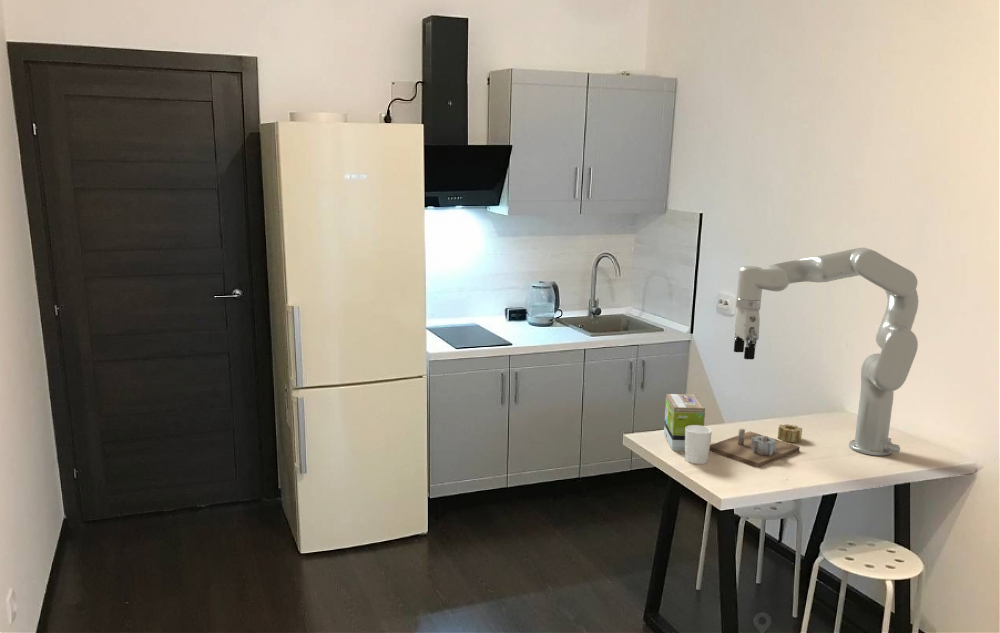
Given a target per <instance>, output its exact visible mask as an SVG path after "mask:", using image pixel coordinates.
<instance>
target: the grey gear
mask: <svg viewBox="0 0 1000 633" xmlns="http://www.w3.org/2000/svg"><path fill="white" fill-rule="evenodd" d="M766 436H767V441H761V436H758V435H757V436H756V437H752V440H751V450H752V452H753V453H757V454H760V455H762V456H763V455H768V456H772V455H773V454H776V445H777V441H775V439H776V438H774V437H769V436H768V435H766Z"/></svg>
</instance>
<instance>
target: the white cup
mask: <svg viewBox="0 0 1000 633" xmlns="http://www.w3.org/2000/svg"><path fill="white" fill-rule="evenodd" d="M712 432H713V431H712V429H711V428H710V427H708V426H706V425H704V426H700V425H689V426H686V427H685V451H684V458H685V459H684V460H685V461H686V462H688V463H691V464H695V465H703V464H706V463H708V462H709V461H708V459H709V453H710V451H709V449H710V445H711V441H712V440H711V439H712Z"/></svg>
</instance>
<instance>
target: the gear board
mask: <svg viewBox="0 0 1000 633" xmlns="http://www.w3.org/2000/svg"><path fill="white" fill-rule="evenodd" d="M757 435H758V436H761V441H767V436H768V435H763V434H760V433H756V432H753V431H747V432H746V429H744V428H739V429H738V435H735V436H732V437H730V438H726V439H724V440H721V441H717V442H715V443H712V444H710V449H709V452H710V453H714V454H717V455H719V456H722V457H725V458H728V459H731V460H734V461H737V462H739V463H742V464H746V465H748V466H750V467H754V468H757V469H759V468H760V467H764V466H766V465H768V464H771V463H774V462H776V461H778V459H779V460H781V459H783V458H785V457H788V456H791V455H794V454H795V453H798V452H800V446H798V445H795V444H794V443H790V442H786V441H785V442H784V441H782V440H781V439H777V438H774V439H775V441H777V445H776V454H773V455H772V456H768V455H763V456H762V455H760V454H757V453H753V452H752V450H751V440H752V437H756V436H757Z"/></svg>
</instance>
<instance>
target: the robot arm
mask: <svg viewBox="0 0 1000 633" xmlns="http://www.w3.org/2000/svg"><path fill="white" fill-rule="evenodd" d="M857 276H859V277H861V278H863V279H865V280H867V281H868V282H871V283H872V284H874V285H876V286H877V287H880V288H881V289H882V290H884V292H885V293H886V296H887V303H886V304H887V305H886V308H885V312H884V314H883V316H882V317H883V318H882V319H881V322H880V325H879V327H878V329H877V333H876V335H875V336H876V337H875V342H876V344H877V346H878V347H879V348H880V349H881V352H880V353H873V354H870V355H868V356H867V357H865V359H864V360H863V362H862V365H861V370H860V392H859V393H860V395H859V403H858V411H857V419H856V426H855V427H856V428H855V435H854V436H855V437H854V439H852V440H849V442H848V447H849V448H851V449H852V450H853V451H855V452H857V453H860V454H865V455H869V456H870V455H871V456H877V457H880V456H882V457H884V456H889V455H891V454H892V452H894V453H899V454H900V452H901V447H900V445H899V444H895V443H893V442H892V438H891V437H889V435H890V434H889V432H890V426H891V418H892V410H893V404H894V393H895V392H894V391H897V390H899V389H900V388H901V387H903V385H904V384H905V382H906V380H907V378H908V376H909V373H910V370H911V368H912V365H913V362H914V360H915V359H916V358H915V357H916V355H917V351H918V346H919V342H918V338H917V336H916V334H915V332H913V331H912V328H913V326H914V323H915V319H916V316H917V313H918V308H919V296H918V290H917V287H918V278H917V276H916V274H915V273H914V272H913V271H912V270H910V269H909V268H906V267H904V266H903V265H900V264H898V263H897V262H895V261H893V260H892V259H890V258H888V257H886V256H884V255H883V254H881V253H879V252H877V251H876V250H873V249H870V248H867V247H856V248H852V249H847V250H842V251H837V252H833V253H828V254H824V255H817V256H811V257H806V258H800V259H793V260H787V261H783V262H778V263H773V264H770V265H768V266H766V267H764V268H762V267H760V266H755V265H745V266H741V267H740V268H739V271H738V280H737V282H738V283H737V292H736V303H735V308H736V309H737V311H736V316H735V326H734V335H735V336H734V341H733V342H734V344H733V352H734V353H743V359H744V360H754V359H755V355H756V354H755V353H756V347H757V345H756V344H757V341H758V340H759V338H760V310H761V306H762V305H761V304H762V295H763V294H762V293H763V290H765V291H770V292H775V293H776V292H777V293H778V292H782V291H784V290H786V289H787V288H788V287H789V285H790V284H797V283H803V282H805V283H806V282H808V283H828V282H834V281H836V280H843V279H847V278H853V277H857Z"/></svg>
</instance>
